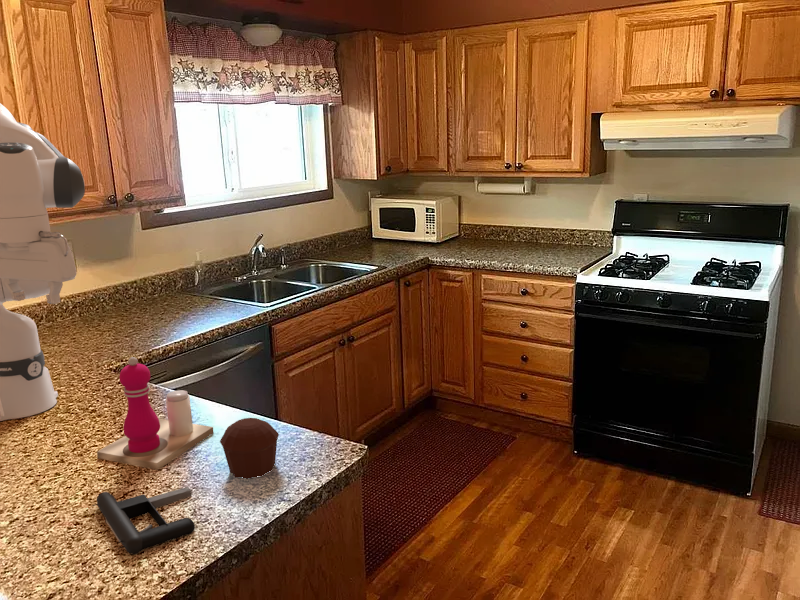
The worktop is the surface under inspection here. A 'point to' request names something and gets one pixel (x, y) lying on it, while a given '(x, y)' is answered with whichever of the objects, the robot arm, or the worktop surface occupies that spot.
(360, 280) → the worktop surface
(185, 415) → the salt shaker
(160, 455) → the condiment board
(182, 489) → the door handle
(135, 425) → the pepper mill
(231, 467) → the muffin
